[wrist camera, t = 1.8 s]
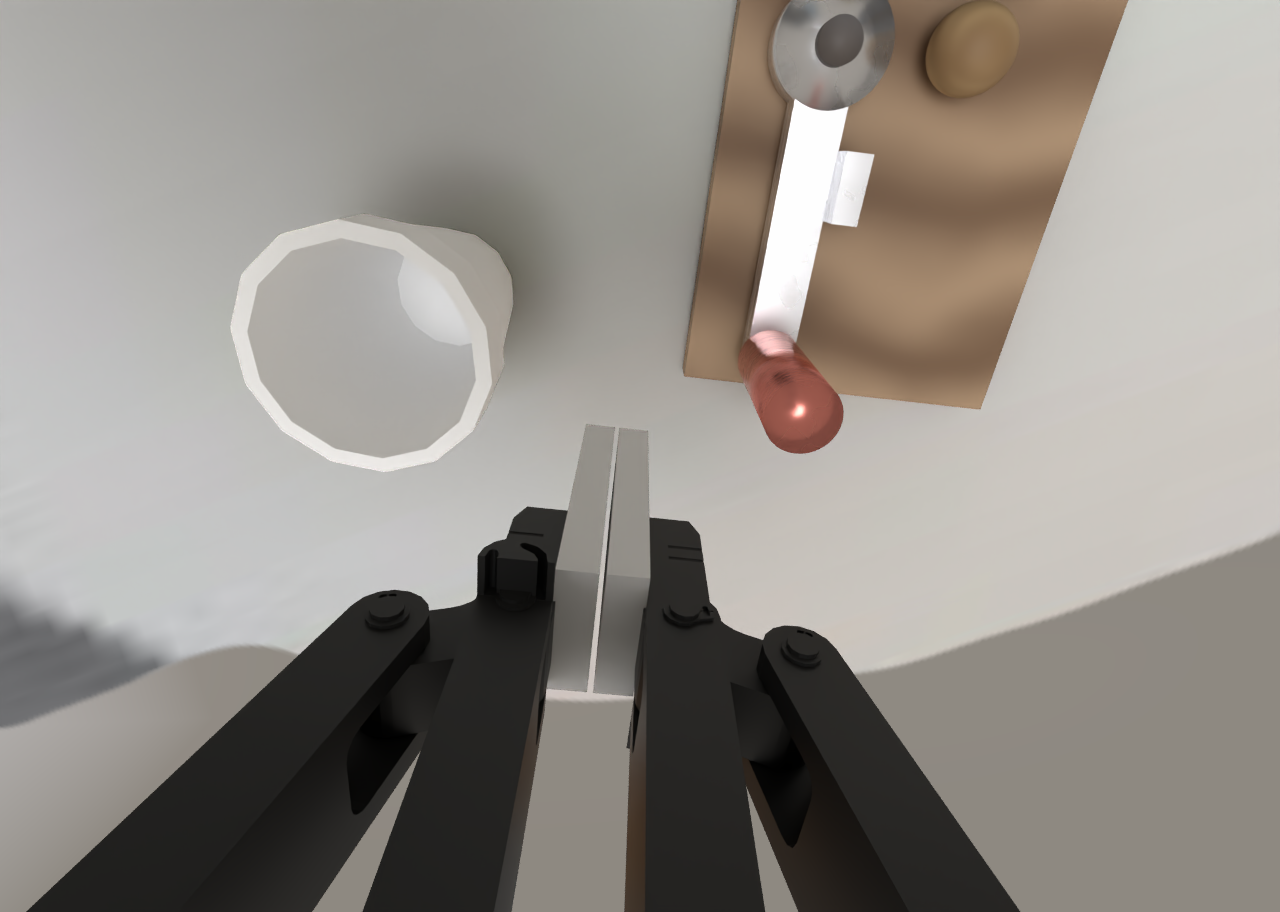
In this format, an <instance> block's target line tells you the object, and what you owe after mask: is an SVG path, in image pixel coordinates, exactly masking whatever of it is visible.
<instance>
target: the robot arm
mask: <svg viewBox="0 0 1280 912" xmlns="http://www.w3.org/2000/svg"><path fill="white" fill-rule="evenodd" d="M614 431H615V427H606V426H597V425H588V424H586V428H585V432H584V437H583V442H582V447H581V451H580V456H579V461H578V465H577V470H576V475H575V479H574V484H573V489H572V494H571V498H570V503H569V508H568V511H565V510H555V509H545V508H535V507H526V508H525V509H524V510H523V511H521V512H520V513H519V514H518V515H516V516H515V517H514V519H513V521H512V524H511V527H510V530H509V534H508V535H507V538H506V539H505V540H500V541H496V542H493V543H492V544H490V545H488V546H486V547H484V548H483V550H482V551H481V552H480V553H479V555H478V575H477V597H476V599H475V600H473V601H472V602H469V603H467V604H464V605H461V606H457V607H452V608H446V609H438V610H430V611H429V607H428V604H427V603H426V601H425V600H424V599H423V598H422V597H421V596H418V595H416V594H414V593H412V592H408V591H400V590H390V591H381V592H377V593H374V594H371V595H368V596H365V597H363V598H362V599H360V600H359V601H357V602H356V603H354V604H353V605H352V606H350V607H349V608H348V609H347V610H346V611H345V612H344V613H343V614H342V615H341V616H340V617H339V618H338V619H337V620H336V621H335V622H333V623H332V624H331V625H330V626H329V627H328V628H327V629H326V630H325V631H324V632H323V633H322V634H321V635H320V636H319V637H318V638H316V639H315V640H314V641H313V642H312V643H311V644H310V645H309V646H308V647H307V648H306V649H305V650H304V651H303V652H302V653H301V654H300V655H298V656H297V657H296V658H295V659H294V660H293V661H292V662H291V663H290V664H289V665H288V666H287V667H286V668H285V669H284V670H283V671H281V672H280V673H279V674H278V675H277V676H276V677H275V678H274V679H273V680H272V681H271V682H270V683H269V684H268V685H267V686H266V687H265V688H263V689H262V690H261V691H260V692H259V693H258V694H257V695H256V696H255V697H254V698H253V699H252V700H251V701H250V702H249V703H247V704H246V705H245V706H244V707H243V708H242V709H241V710H240V711H239V712H238V713H237V714H236V715H235V716H234V717H233V718H232V719H231V720H229V721H228V722H227V723H226V724H225V725H224V726H223V727H222V728H221V729H220V730H219V731H218V732H217V733H216V734H215V735H214V736H212V737H211V738H210V739H209V740H208V741H207V742H206V743H205V744H204V745H203V746H202V747H201V748H200V749H199V750H198V751H196V752H195V753H194V754H193V755H192V756H191V757H190V758H189V759H188V760H187V761H186V762H185V763H184V764H183V765H182V766H181V767H179V768H178V769H177V770H176V771H175V772H174V773H173V774H172V775H171V776H170V777H169V778H168V779H167V780H166V781H165V782H164V783H162V784H161V785H160V786H159V787H158V788H157V789H156V790H155V791H154V792H153V793H152V794H151V795H150V796H149V797H148V798H147V799H145V800H144V801H143V802H142V803H141V804H140V805H139V806H138V807H137V808H136V809H135V810H134V811H133V812H132V813H131V814H130V815H128V817H126V818H125V819H124V820H123V821H122V822H121V823H120V824H119V825H118V826H117V827H116V828H115V829H114V830H113V831H111V832H110V833H109V834H108V835H107V836H106V837H105V838H104V839H103V840H102V841H101V842H100V843H99V844H98V845H97V846H96V847H95V848H93V849H92V850H91V852H89V853H88V854H87V855H86V856H85V857H84V858H83V859H82V860H81V861H80V862H79V863H78V864H77V865H75V866H74V867H73V868H72V869H71V870H70V871H69V872H68V873H67V874H66V875H65V876H64V877H63V878H62V879H60V880H59V881H58V882H57V883H56V884H55V885H54V886H53V887H52V888H51V889H50V890H49V891H48V892H47V893H46V894H45V895H43V896H42V897H41V898H40V899H39V900H38V901H37V902H36V903H35V904H34V905H33V906H32V907H31V908H30V909H29V910H28V911H27V912H312V911H313V910H314V908H315V907H316V905H317V904H318V902H319V901H320V899H321V898H322V896H323V895H324V893H325V892H326V890H327V889H328V887H329V886H330V884H331V883H332V881H333V880H334V878H335V877H336V875H337V874H338V872H339V871H340V869H341V868H342V867H343V865H344V864H345V862H346V861H347V859H348V858H349V856H350V855H351V853H352V852H353V850H354V849H355V847H356V846H357V844H358V843H359V841H360V840H361V838H362V837H363V835H364V834H365V832H366V831H367V829H368V828H369V826H370V825H371V823H372V822H373V820H374V819H375V818H376V816H377V815H378V813H379V812H380V810H381V809H382V807H383V806H384V804H385V803H386V801H387V799H388V798H389V797H390V795H391V794H392V792H393V791H394V789H395V788H396V786H397V785H398V783H399V782H400V780H401V779H402V777H403V776H404V774H405V773H406V771H407V770H408V768H409V767H410V766H411V764H412V762H413V761H414V760H415V758H416V756H417V755H418V754H419V752H420V751H421V752H420V755H419V757H418V760H417V763H416V766H415V768H414V771H413V774H412V777H411V779H410V782H409V785H408V788H407V790H406V793H405V796H404V799H403V802H402V804H401V807H400V810H399V813H398V815H397V818H396V821H395V824H394V826H393V829H392V832H391V835H390V837H389V840H388V843H387V846H386V848H385V851H384V854H383V857H382V859H381V862H380V865H379V868H378V871H377V873H376V876H375V879H374V882H373V884H372V887H371V890H370V893H369V896H368V898H367V901H366V904H365V906H364V909H363V912H511V911H512V905H513V899H514V892H515V887H516V881H517V874H518V869H519V863H520V857H521V851H522V844H523V838H524V832H525V826H526V820H527V814H528V808H529V802H530V796H531V790H532V784H533V777H534V771H535V766H536V760H537V754H538V748H539V742H540V735H541V730H542V724H543V718H544V711H545V698H546V688H547V689H556V690H567V691H579V692H587V686H588V677H589V667H590V658H591V648H592V639H593V630H594V620H595V611H596V602H597V592H598V583H599V574H600V564H601V555H602V545H603V536H604V526H605V516H606V507H607V497H608V488H609V478H610V469H611V459H612V450H613V440H614ZM593 693H601V694H612V695H623V696H633V693H634V702H633V708H632V715H631V722H630V729H629V735H628V743H627V748H629V749H630V762H629V763H630V765H629V793H628V821H627V851H626V881H625V909H624V910H625V911H624V912H765V907H764V901H763V894H762V888H761V882H760V875H759V869H758V862H757V855H756V849H755V842H754V836H753V829H752V822H751V815H750V809H749V802H748V796H747V789H748V791H749V794H750V796H751V798H752V801H753V803H754V806H755V808H756V810H757V813H758V815H759V818H760V820H761V822H762V825H763V827H764V830H765V832H766V835H767V837H768V839H769V842H770V844H771V847H772V849H773V851H774V854H775V856H776V859H777V861H778V864H779V866H780V868H781V871H782V873H783V876H784V878H785V880H786V883H787V885H788V888H789V890H790V892H791V895H792V897H793V900H794V902H795V904H796V907H797V909H798V912H1020V911H1019V909H1018V908H1017V906H1016V905H1015V904H1014V902H1013V901H1012V899H1011V898H1010V896H1009V895H1008V894H1007V892H1006V891H1005V889H1004V888H1003V886H1002V885H1001V884H1000V882H999V881H998V879H997V878H996V876H995V875H994V874H993V872H992V871H991V869H990V868H989V866H988V865H987V864H986V862H985V861H984V859H983V858H982V856H981V855H980V854H979V852H978V851H977V849H976V848H975V846H974V845H973V844H972V842H971V841H970V839H969V838H968V837H967V835H966V834H965V832H964V831H963V829H962V828H961V827H960V825H959V824H958V822H957V821H956V819H955V818H954V816H953V815H952V814H951V812H950V811H949V809H948V808H947V806H946V805H945V804H944V802H943V801H942V799H941V798H940V796H939V795H938V794H937V792H936V791H935V790H934V788H933V787H932V785H931V784H930V782H929V781H928V779H927V778H926V776H925V775H924V774H923V772H922V771H921V769H920V768H919V767H918V765H917V764H916V762H915V761H914V759H913V758H912V757H911V755H910V754H909V752H908V751H907V749H906V748H905V746H904V745H903V744H902V742H901V741H900V739H899V738H898V737H897V735H896V734H895V732H894V731H893V729H892V728H891V726H890V725H889V724H888V722H887V721H886V719H885V718H884V717H883V715H882V714H881V712H880V711H879V709H878V708H877V706H876V705H875V704H874V702H873V701H872V699H871V698H870V697H869V695H868V694H867V692H866V691H865V689H864V688H863V687H862V685H861V684H860V682H859V681H858V680H857V678H856V677H855V675H854V674H853V672H852V671H851V669H850V668H849V667H848V665H847V664H846V662H845V661H844V659H843V658H842V657H841V655H840V654H839V652H838V651H837V649H836V648H835V647H834V646H833V645H832V644H831V643H830V642H829V641H828V640H827V639H826V638H824V637H822V636H821V635H819V634H817V633H816V632H814V631H811V630H808V629H805V628H802V627H798V626H781V627H776V628H773V629H772V630H770V631H769V632H768V633H766V634H765V637H764V640H761V639H757V638H754V637H751V636H748V635H745V634H743V633H740V632H738V631H735V630H733V629H732V628H730V627H728V626H727V625H725V624H724V623H723V622H722V621H721V618H720V616H719V613H718V611H717V609H716V608H715V607H714V606H713V605H712V604H711V603H710V601H709V594H708V587H707V580H706V574H705V567H704V563H703V554H702V547H701V540H700V534H699V533H698V532H697V531H696V530H695V528H694V527H693V526H692V525H691V524H690V522H688V521H678V520H668V519H659V518H649V464H648V431H643V430H634V429H625V428H619V437H618V446H617V455H616V464H615V473H614V482H613V491H612V500H611V509H610V519H609V530H608V540H607V551H606V562H605V572H604V583H603V594H602V605H601V615H600V626H599V637H598V647H597V658H596V669H595V679H594V690H593ZM746 786H747V789H746Z"/></svg>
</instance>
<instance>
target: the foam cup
mask: <svg viewBox="0 0 1280 912" xmlns="http://www.w3.org/2000/svg"><path fill="white" fill-rule="evenodd" d="M513 303H514V300H513V289H512V277H511V275H510V273H509V271H508V269H507V267H506V266H505V264H504V262H503V260H502V258H501V257H500V255H499V253H498V252H497V251H496V250H495V249H493V248H492V247H491V246H489V245H488V244H487V243H486V242H484V241H483V240H482V239H480V238H479V237H478V236H476V235H474V234H470V233H465V232H461V231H457V230H453V229H448V228H441V227H432V226H423V225H414V224H408V223H404V222H400V221H395V220H391V219H387V218H382V217H378V216H374V215H369V214H365V213H364V214H359V215H355V216H350V217H345V218H340V219H336V220H332V221H328V222H324V223H320V224H316V225H312V226H309V227H305V228H301V229H297V230H293V231H289V232H285V233H281V234H279V235H278V236H277V237H276V238H275V239H274V240H273V241H272V242H271V243H270V245H269V246H268V247H267V248H266V249H265V250H264V251H263V252H262V253H261V254H260V255H259V256H258V257H257V258H256V259H255V260H254V261H253V262H252V263H251V264H250V265H249V266H248V267H247V269H246V270H245V271H244V272H243V273H242V274H241V278H240V283H239V288H238V292H237V297H236V302H235V307H234V311H233V316H232V321H231V326H230V330H231V334H232V337H233V341H234V345H235V348H236V352H237V355H238V359H239V363H240V366H241V370H242V374H243V377H244V381H245V384H246V385H247V387H248V388H249V389H250V391H251V392H252V393H253V394H254V396H255V397H256V398H257V400H258V401H259V402H260V403H261V405H262V406H263V407H264V409H265V410H266V411H267V412H268V414H269V415H270V416H271V418H272V419H273V420H274V421H275V423H276V424H277V425H278V427H279V428H280V429H281V430H282V431H283V432H285V433H286V434H288V435H289V436H291V437H293V438H294V439H296V440H298V441H299V442H301V443H302V444H304V445H306V446H307V447H309V448H310V449H312V450H314V451H315V452H317V453H318V454H320V455H322V456H323V457H325V458H327V459H328V460H330V461H332V462H337V463H342V464H347V465H352V466H357V467H362V468H367V469H372V470H377V471H382V472H388V471H393V470H397V469H402V468H407V467H412V466H416V465H421V464H426V463H430V462H435V461H436V460H438V459H439V458H440V457H441V456H443V455H444V454H445V453H446V452H448V451H449V450H450V449H451V448H452V447H454V446H455V445H456V444H457V443H459V442H460V441H461V440H462V439H464V438H465V437H466V436H467V435H469V434H470V433H471V432H472V431H473V430H474V429H475V427H476V425H477V424H478V422H479V421H480V419H481V417H482V416H483V414H484V413H485V411H486V409H487V407H488V404H489V402H490V400H491V397H492V395H493V392H494V390H495V387H496V385H497V382H498V380H499V377H500V375H501V372H502V370H503V367H504V356H503V347H504V343H505V339H506V334H507V330H508V326H509V321H510V317H511V313H512V309H513Z"/></svg>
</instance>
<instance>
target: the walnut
mask: <svg viewBox="0 0 1280 912" xmlns="http://www.w3.org/2000/svg"><path fill="white" fill-rule="evenodd" d="M1019 37H1020V35H1019V27H1018V24H1017V21H1016V19H1015V17H1014V15H1013V13H1012V12H1011V11H1010V10H1009V9H1008V8H1007V7H1006V6H1004V5H1003V4H1001V3H999V2H996V1H993V0H975V1H971V2H968V3H965V4H963V5H961V6H959V7H957V8H956V9H954V10H953V11H952V12H950V13H949V14H948V15H947V16H946V17H945V18H944V19H943V20H942V21H941V22H940V23H939V25H938V26H937V28H936V29H935V31H934V32H933V34H932V36H931V39H930V41H929V44H928V47H927V52H926V70H927V74H928V77H929V79H930V81H931V83H932V84H933V86H934V87H935V88H936V89H937V90H938V91H940V92H941V93H943V94H944V95H947V96H949V97H953V98H970V97H974V96H977V95H979V94H982V93H984V92H986V91H988V90H989V89H990V88H992V87H993V86H995V85H996V84H997V83H998V82H999V81H1000V80H1001V79H1002V78H1003V77H1004V76H1005V75H1006V73H1007V72H1008V71H1009V69H1010V67H1011V66H1012V64H1013V62H1014V60H1015V57H1016V55H1017V51H1018V47H1019Z"/></svg>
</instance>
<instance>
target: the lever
mask: <svg viewBox="0 0 1280 912" xmlns="http://www.w3.org/2000/svg"><path fill="white" fill-rule="evenodd" d="M839 14H850V15H853V16H854V17H856V18H857V19H858V20H859V21H860V23H861V25H862V27H863V31H864V41H863V45H862V48H861V50H860V52H859V54H858V55H857V56H856V58H855V59H854V60H852V61H851V62H849V63H847V64H845V65H843V66H841V67H837V68H830V67H827V66H825V65H823V64H822V63H821V62H820V61H819V59H818V57H817V55H816V52H815V40H816V36H817V33H818V31H819V30H820V28H821V27H822V26H823V25H824V24H825V23H826V22H827V21H828V20H830V19H831V18H833V17H834V16H836V15H839ZM894 42H895V23H894V17H893V13H892V9H891V6H890V4H889V2H888V0H791V1H790V2H789V3H788V4H787V5H786V6H785V8H784V9H783V10H782V12H781V13H780V15H779V16H778V18H777V20H776V22H775V24H774V26H773V29H772V32H771V35H770V39H769V44H768V68H769V72H770V76H771V79H772V82H773V84H774V86H775V88H776V90H777V91H778V93H779V94H780V96H781V97H782V98H783V99H784V100H785V101H786V102H787V108H786V114H785V119H784V124H783V130H782V135H781V140H780V146H779V151H778V156H777V162H776V167H775V173H774V178H773V183H772V189H771V194H770V199H769V205H768V210H767V216H766V221H765V226H764V232H763V237H762V242H761V248H760V253H759V258H758V264H757V269H756V275H755V280H754V285H753V291H752V296H751V301H750V307H749V312H748V318H747V323H746V328H745V334H744V339H743V344H742V348H741V350H740V352H739V356H738V369H739V373H740V375H741V377H742V379H743V382H744V384H745V386H746V388H747V391H748V393H749V395H750V397H751V400H752V402H753V404H754V406H755V409H756V411H757V413H758V415H759V418H760V420H761V422H762V424H763V427H764V429H765V431H766V433H767V435H768V437H769V439H770V440H771V441H772V442H773V444H775V445H776V446H777V447H778V448H780V449H782V450H784V451H787V452H790V453H798V454H801V453H809V452H813V451H816V450H818V449H820V448H822V447H824V446H825V445H826V444H828V443H829V442H830V441H831V440H832V439H833V438H834V437H835V436H836V434H837V433H838V431H839V429H840V427H841V424H842V421H843V405H842V402H841V399H840V398H839V396H838V394H837V393H836V392H835V391H834V389H833V388H832V387H831V386H830V384H829V383H828V382H827V381H826V380H825V378H824V377H823V376H822V375H821V373H820V372H819V371H818V370H817V368H816V367H815V366H814V365H813V364H812V362H811V361H810V360H809V359H808V357H807V356H806V355H805V354H804V352H803V351H802V350H801V349H800V348H799V346H798V345H797V344H796V341H797V336H798V332H799V327H800V323H801V318H802V314H803V309H804V305H805V300H806V296H807V291H808V287H809V282H810V278H811V273H812V269H813V264H814V260H815V255H816V251H817V246H818V242H819V237H820V233H821V228H822V223H823V221H824V222H827V223H830V224H836V225H844V226H852V227H857V224H858V220H859V216H860V212H861V208H862V204H863V200H864V195H865V191H866V187H867V183H868V179H869V175H870V171H871V167H872V163H873V159H874V154H867V153H859V152H851V151H839V147H840V142H841V138H842V133H843V129H844V124H845V120H846V115H847V111H848V106H851V105H853V104H854V103H856V102H858V101H860V100H861V99H862V98H864V97H865V96H866V95H867V94H868V93H870V92H871V91H872V90H873V88H874V87H875V86H876V85H877V84H878V82H879V81H880V79H881V78H882V76H883V75H884V73H885V71H886V69H887V67H888V64H889V62H890V59H891V56H892V53H893V48H894Z"/></svg>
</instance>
